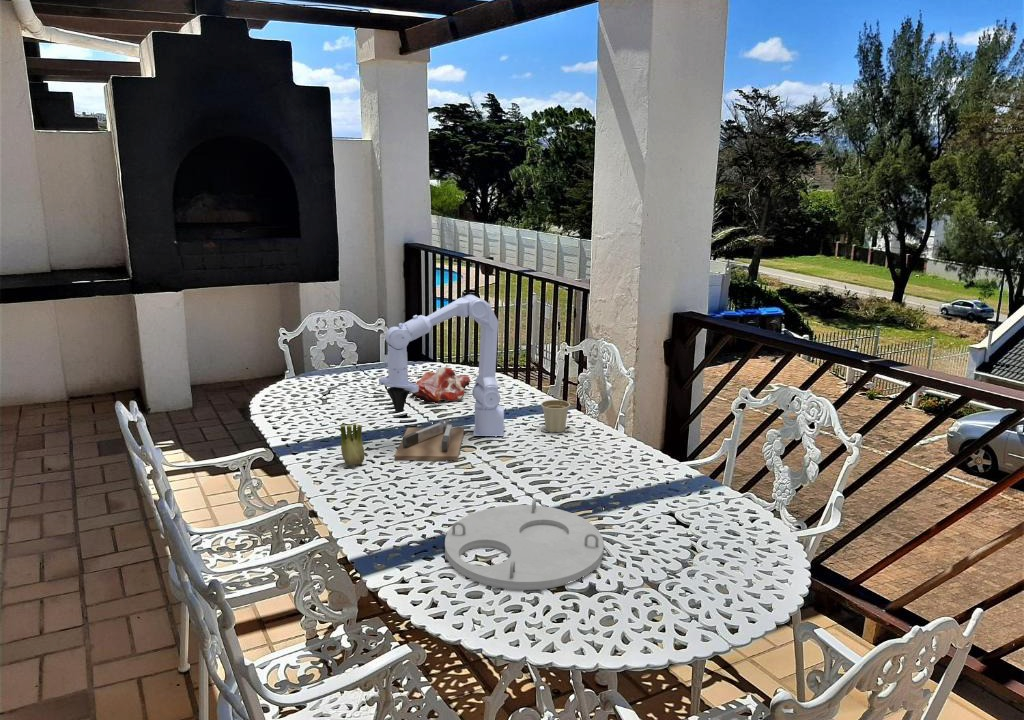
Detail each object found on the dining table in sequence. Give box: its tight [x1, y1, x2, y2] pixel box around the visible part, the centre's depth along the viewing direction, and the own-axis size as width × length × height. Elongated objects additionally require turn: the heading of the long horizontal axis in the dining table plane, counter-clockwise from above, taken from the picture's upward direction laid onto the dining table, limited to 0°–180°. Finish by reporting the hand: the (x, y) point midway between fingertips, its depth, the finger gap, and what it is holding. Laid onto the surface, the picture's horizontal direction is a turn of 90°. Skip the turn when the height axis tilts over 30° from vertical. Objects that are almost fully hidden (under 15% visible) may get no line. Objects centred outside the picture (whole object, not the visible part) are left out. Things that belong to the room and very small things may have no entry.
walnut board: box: [394, 427, 465, 462], centre depth 220 cm, size 18×24×2 cm
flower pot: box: [540, 399, 571, 433], centre depth 234 cm, size 9×9×9 cm
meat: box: [411, 366, 471, 403], centre depth 269 cm, size 21×21×10 cm
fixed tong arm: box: [442, 424, 453, 452], centre depth 218 cm, size 15×2×3 cm, turn 179°
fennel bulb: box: [339, 423, 365, 467], centre depth 204 cm, size 6×5×12 cm
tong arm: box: [402, 419, 450, 448], centre depth 221 cm, size 19×3×3 cm, turn 144°
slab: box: [444, 498, 605, 591], centre depth 160 cm, size 35×35×5 cm
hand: (399, 411), depth 219 cm, fingers closed
